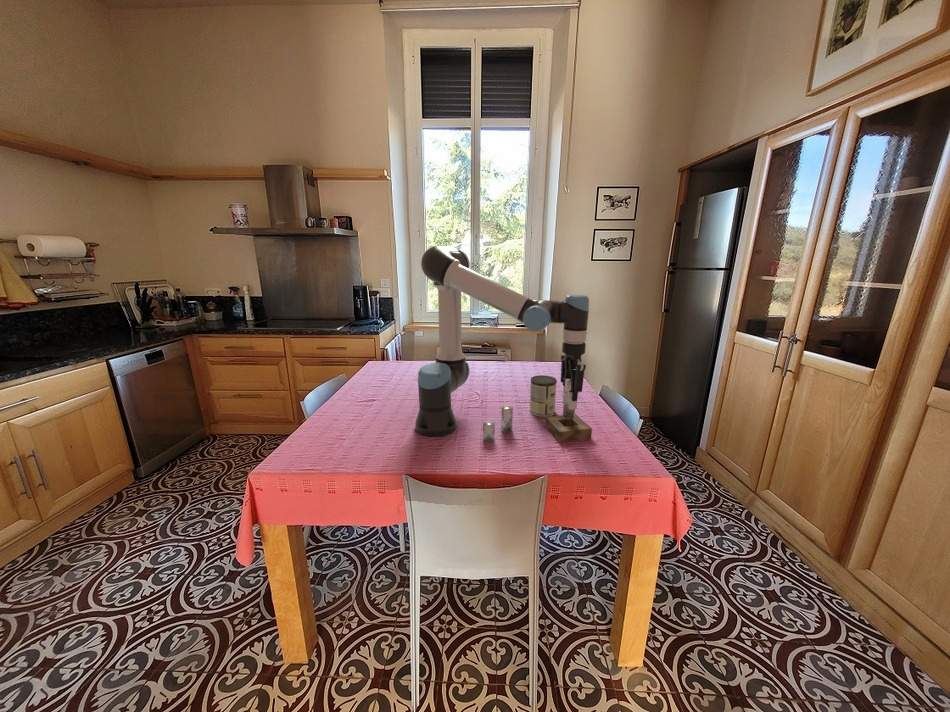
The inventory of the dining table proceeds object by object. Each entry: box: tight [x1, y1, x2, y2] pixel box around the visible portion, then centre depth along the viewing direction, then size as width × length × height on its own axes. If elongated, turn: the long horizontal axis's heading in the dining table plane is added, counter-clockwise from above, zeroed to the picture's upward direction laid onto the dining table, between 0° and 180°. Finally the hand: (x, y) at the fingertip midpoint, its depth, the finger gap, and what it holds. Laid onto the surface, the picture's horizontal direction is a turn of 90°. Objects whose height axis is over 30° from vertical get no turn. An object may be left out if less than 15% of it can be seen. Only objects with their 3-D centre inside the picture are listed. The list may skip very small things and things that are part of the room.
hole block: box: [544, 413, 593, 443], centre depth 127 cm, size 12×12×4 cm
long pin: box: [562, 378, 576, 419], centre depth 124 cm, size 4×4×14 cm
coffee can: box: [529, 374, 558, 418], centre depth 143 cm, size 10×10×14 cm
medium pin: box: [500, 405, 514, 434], centre depth 128 cm, size 4×4×9 cm
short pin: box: [482, 420, 496, 443], centre depth 122 cm, size 4×4×6 cm
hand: (569, 406), depth 125 cm, fingers closed on long pin, 4 cm apart
